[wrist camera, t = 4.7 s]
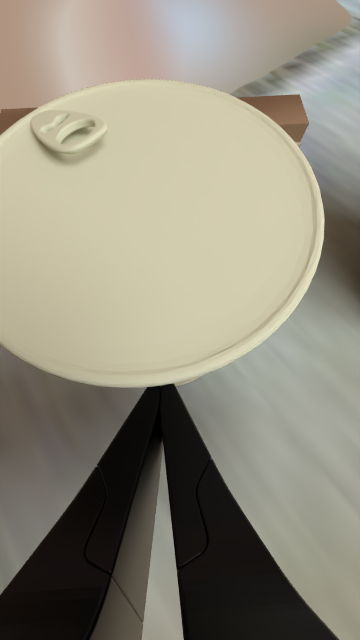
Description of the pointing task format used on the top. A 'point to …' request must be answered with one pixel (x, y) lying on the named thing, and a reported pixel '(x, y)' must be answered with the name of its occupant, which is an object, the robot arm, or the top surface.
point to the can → (150, 233)
